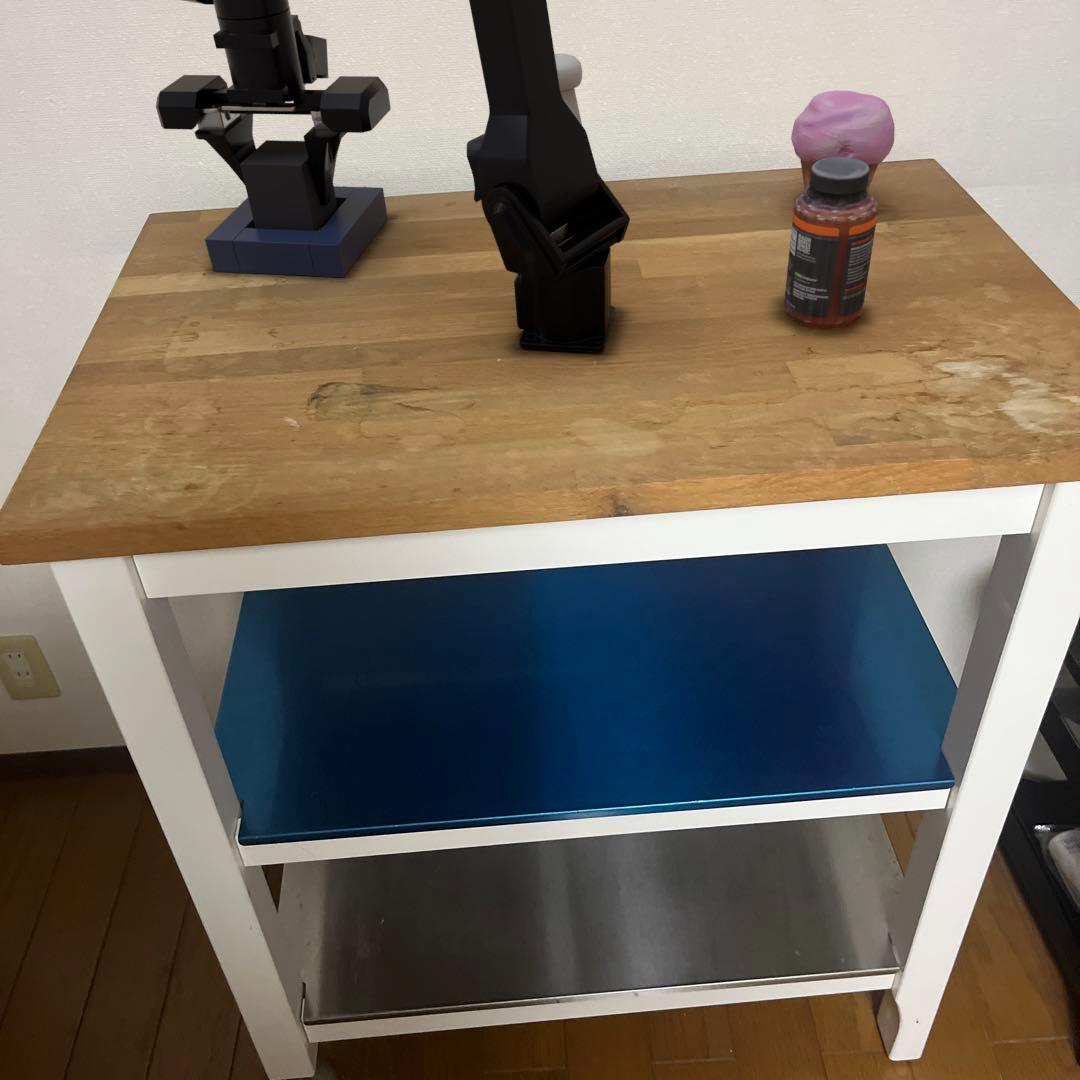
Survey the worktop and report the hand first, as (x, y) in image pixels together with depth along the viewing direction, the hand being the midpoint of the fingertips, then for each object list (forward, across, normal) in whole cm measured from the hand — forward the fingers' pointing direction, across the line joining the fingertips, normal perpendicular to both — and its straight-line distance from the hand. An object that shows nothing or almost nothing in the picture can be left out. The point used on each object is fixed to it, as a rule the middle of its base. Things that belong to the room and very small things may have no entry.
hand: (294, 202), depth 91 cm
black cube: (+2, 0, 0) cm, 2 cm away
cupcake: (+4, -47, -12) cm, 49 cm away
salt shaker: (+4, -22, -11) cm, 25 cm away
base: (+4, 0, 0) cm, 4 cm away
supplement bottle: (+4, -46, +8) cm, 47 cm away
